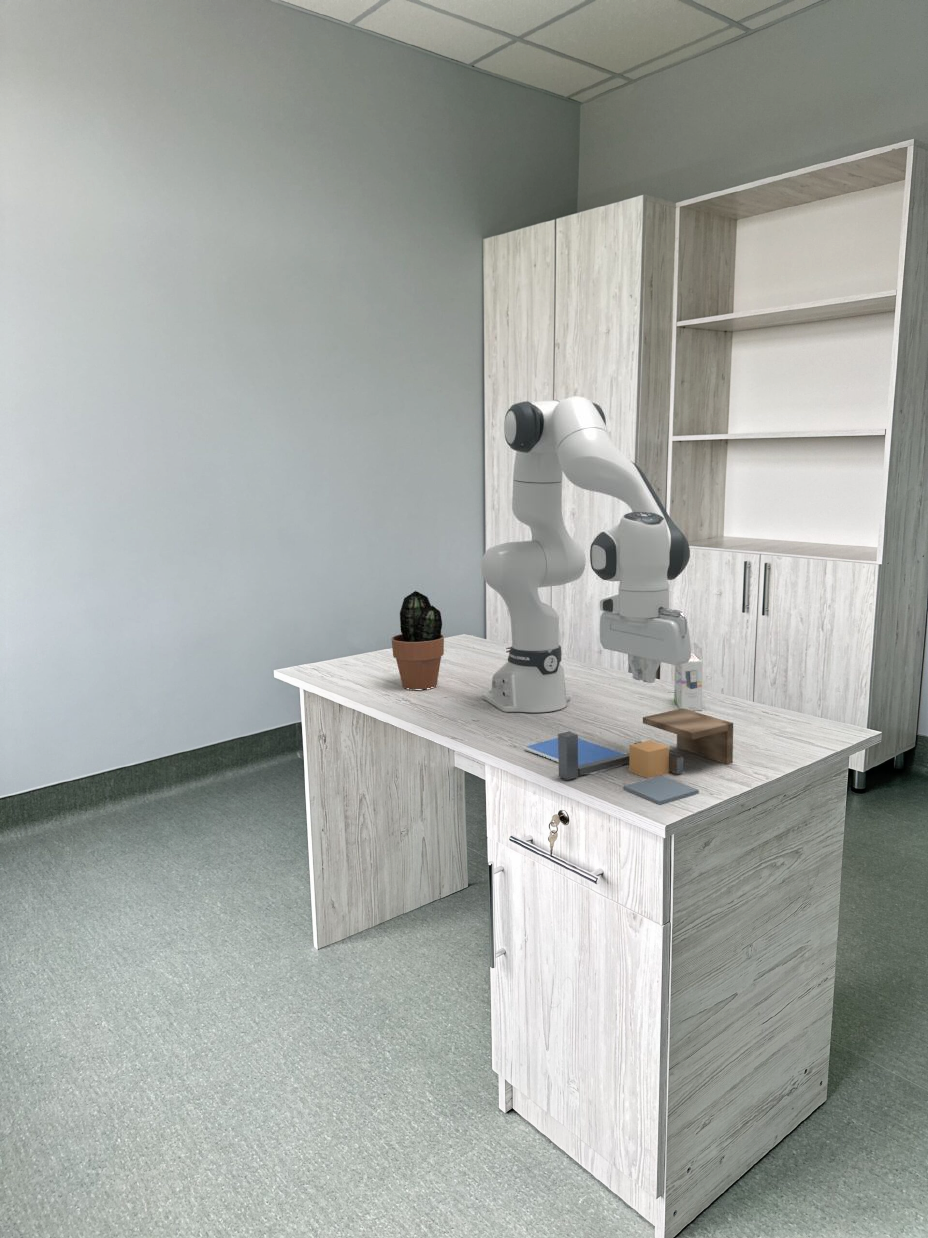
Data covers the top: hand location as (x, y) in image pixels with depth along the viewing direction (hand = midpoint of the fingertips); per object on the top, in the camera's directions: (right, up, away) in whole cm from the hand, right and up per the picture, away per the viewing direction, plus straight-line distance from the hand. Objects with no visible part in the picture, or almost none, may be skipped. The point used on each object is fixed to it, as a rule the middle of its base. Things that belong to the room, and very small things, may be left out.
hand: (643, 680), depth 162 cm
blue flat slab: (-10, -16, +14) cm, 24 cm away
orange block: (+2, -17, +4) cm, 18 cm away
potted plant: (-44, -7, +73) cm, 86 cm away
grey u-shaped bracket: (-4, -17, +2) cm, 18 cm away
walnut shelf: (+10, -16, +10) cm, 21 cm away
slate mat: (+2, -19, -6) cm, 20 cm away
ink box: (+19, -9, +46) cm, 51 cm away
